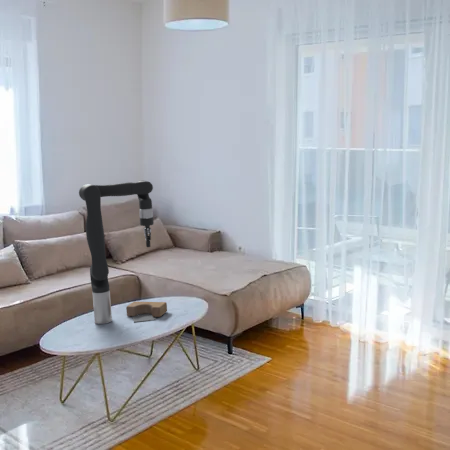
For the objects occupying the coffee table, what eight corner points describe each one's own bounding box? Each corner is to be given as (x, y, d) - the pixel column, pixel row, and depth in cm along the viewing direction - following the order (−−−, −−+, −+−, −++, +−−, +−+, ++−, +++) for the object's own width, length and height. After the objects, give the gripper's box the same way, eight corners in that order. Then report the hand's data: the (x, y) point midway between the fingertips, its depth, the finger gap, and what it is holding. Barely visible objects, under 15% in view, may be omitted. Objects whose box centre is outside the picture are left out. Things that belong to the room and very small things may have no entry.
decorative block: (159, 307, 324) (125, 306, 329) (160, 317, 325) (126, 316, 330) (166, 301, 334) (133, 300, 340) (167, 311, 335) (134, 310, 341)
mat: (134, 322, 320) (134, 321, 320) (132, 316, 331) (132, 315, 331) (156, 320, 323) (156, 319, 323) (154, 313, 333) (153, 313, 333)
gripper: (138, 215, 336) (140, 245, 339) (140, 218, 323) (142, 250, 326) (151, 214, 338) (153, 244, 341) (154, 217, 325) (156, 248, 328)
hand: (148, 246), depth 334 cm, fingers closed
